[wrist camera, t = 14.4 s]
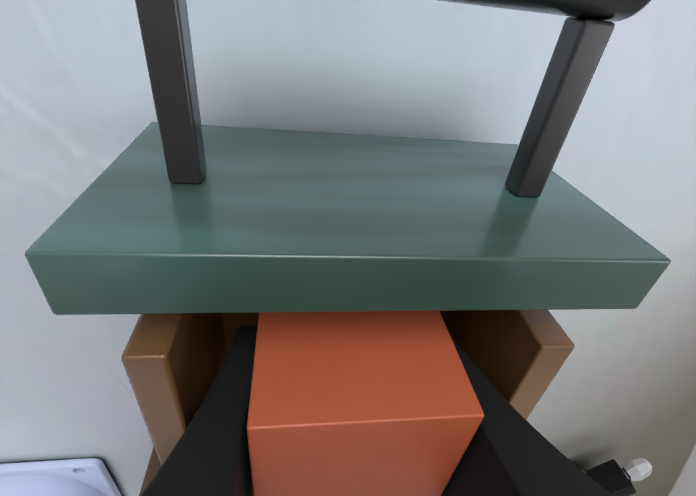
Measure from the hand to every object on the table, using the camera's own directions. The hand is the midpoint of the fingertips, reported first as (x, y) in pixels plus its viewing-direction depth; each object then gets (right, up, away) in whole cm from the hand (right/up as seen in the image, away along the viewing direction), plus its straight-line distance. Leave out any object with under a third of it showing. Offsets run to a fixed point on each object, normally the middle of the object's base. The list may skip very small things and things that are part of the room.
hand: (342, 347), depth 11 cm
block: (0, +1, +1) cm, 1 cm away
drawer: (0, +3, +2) cm, 3 cm away
